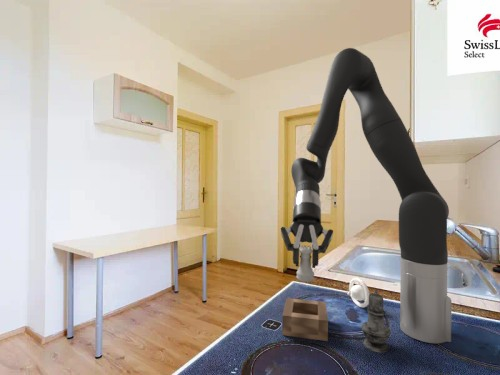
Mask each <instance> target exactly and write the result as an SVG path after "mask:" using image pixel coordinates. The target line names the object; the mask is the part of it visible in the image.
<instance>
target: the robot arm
mask: <svg viewBox="0 0 500 375" xmlns="http://www.w3.org/2000/svg"><path fill="white" fill-rule="evenodd" d="M348 90H349V92H350V93H351V94H352V96H353V98H354V100H355V102H356V104H357V105H358V107H359V110H360V117H361V118H360V119H361V122H360V123H361V128H362V132H363V135H364V137H365V140H366V142H367V144H368V145H369V148H370V149H371V152H372V153H373V155H374V156H375V158H376V160H377V161H378V162H379V164H380V165H381V166H382V168H383V169H384V170H385V171H386V172H387V174H388V175H389V176H390V178H391V179H392V181H393V183H394V185H395V187H396V189H397V192H398V193H399V196H400V198H401V202H400V204H399V208H398V244H399V249H400V291H399V294H400V295H399V296H400V299H399V300H400V303H399V306H400V307H399V308H400V309H399V311H400V312H399V313H400V314H399V325H400V326H399V328H400V330H401V331H402V333H404V334H405V335H407V336H409V337H410V338H412V339H415V340H416V341H417V340H418V341H420V342H424V343H429V344H444V343H447V342H448V343H451V342H452V299H451V297H449V295H448V254H449V252H448V245H447V241H448V240H447V238H448V234H447V233H448V232H447V231H448V230H447V229H448V227H447V226H448V218H449V216H450V215H449V214H450V211H449V210H450V209H449V205H448V204H447V201H446V200H445V198H444V197H443V196H442V195H441V194H440V192H439V190H438V189H437V187H435V185H434V183H433V182H432V179H430V177H429V176H428V174H427V172H426V171H425V169H424V167H423V164H422V162H421V160H420V157H419V154H418V151H417V149H416V147H415V144H414V143H413V140H412V138H411V136H410V134H409V132H408V130H407V128H406V125H405V124H404V121H403V119H402V118H401V117H400V115H399V113H398V111H397V110H396V109H395V107H394V105H393V103H392V102H391V101H390V99H389V97H388V96H387V94H386V93H385V91H384V89H383V87H382V84H381V81H380V78H379V76H378V73H377V71H376V67H375V65H374V62H372V60H371V58H370V57H368V55H366V54H364V53H363V52H361V51H360V50H358V49H356V48H355V47H354V48H353V47H346V48H344V49H342V50H341V51H339V52H338V53H337V54H336V56H335V57H334V58H333V61H332V63H331V65H330V68H329V73H328V76H327V81H326V85H325V90H324V93H323V97H322V101H321V105H320V109H319V111H318V116H317V119H316V121H315V124H314V127H313V129H312V131H311V134H310V137H309V139H308V141H307V143H306V146H305V147H306V150H307V151H308V153H309V154H312V155H314V156H316V158H317V159H316V161H314V160H311V159H307V158H305V157H297V159H295V160H294V161H293V163H292V165H291V169H290V170H291V171H290V172H291V177H292V181H293V183H294V187H295V195H294V196H295V197H294V200H293V209H292V210H293V212H292V222H291V224H290V225H289V226H290V227H289V226H288V227H285V226H282V227H281V228H280V233H281V237H282V239H283V243H284V245H285V247H286V248H285V249H286V250H287V251H288V252H289V251H290V252H292V263H293V265H295V267H298V268H299V267H300V251H299V249H300V248H301V246H302V243H310V245H311V246H310V247H311V249H312V253H311V255H312V256H311V268H312V269H316V267H317V266H318V265H319V255H320V254H325V253H327V252H326V251H327V250H328V248H329V246H330V243H331V241H332V239H333V235H334V230H333V229H325V228H324V227H323V225H322V206H321V205H322V204H321V194H320V190H321V189H320V185H319V184H320V183H321V182H322V181H323V179H324V177H325V174H326V165H327V161H328V155H329V153H330V150H331V147H332V145H333V143H334V141H335V138H336V136H337V133H338V129H339V125H340V124H339V123H340V116H341V115H340V114H341V107H342V103H343V102H344V101H343V100H344V98H345V95H346V94H347V91H348ZM291 234H292V236H294V237H295V240H294V242H293V243H292V241H291V239H290V235H291ZM321 235H323V237H322V238H323V240H322V242H321V244H320V245H319V244H318V238H320V236H321Z"/></svg>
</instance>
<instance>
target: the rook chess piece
mask: <svg viewBox="0 0 500 375" xmlns="http://www.w3.org/2000/svg"><path fill="white" fill-rule="evenodd" d="M312 252H313V249H312V246H310V245H301V246H300V249H299V259H300V260H299V267H298V268H297V271H296V279H297V280H298V281H299V282H303V283H312V282H313V281H314V280H315V272H314V270H313V269H314V268H312V256H311V255H312Z"/></svg>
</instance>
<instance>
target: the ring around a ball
mask: <svg viewBox="0 0 500 375" xmlns="http://www.w3.org/2000/svg"><path fill="white" fill-rule="evenodd" d="M355 283H358V284H355ZM354 284H355V285H354ZM370 294H371V293H370V290H369V288H368V286H367V283H365V281H364V280H362V278H360V277H354V278H352V279H351V280H350V282H349V286H348V292H347V296H348V297H349V296H350V298H351V300H352V301H353V303H354V304H355V305H356V306H357V307H360V308H366V307H368V306H369V295H370ZM359 301H364V302H359Z"/></svg>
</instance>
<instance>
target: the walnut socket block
mask: <svg viewBox="0 0 500 375" xmlns="http://www.w3.org/2000/svg"><path fill="white" fill-rule="evenodd" d="M327 310H328V309H327V303H326V301H318V300H308V299H301V298H300V299H299V298H290V297H287V298H286V299H285V303H284V308H283V313H282V331H281V332H282V336H288V337H294V338H301V339H308V340H318V341H325V342H329V340H328V339H329V318H328V311H327Z"/></svg>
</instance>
